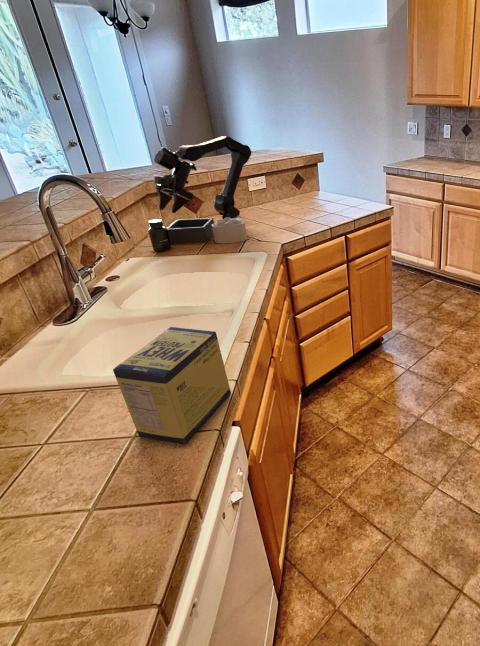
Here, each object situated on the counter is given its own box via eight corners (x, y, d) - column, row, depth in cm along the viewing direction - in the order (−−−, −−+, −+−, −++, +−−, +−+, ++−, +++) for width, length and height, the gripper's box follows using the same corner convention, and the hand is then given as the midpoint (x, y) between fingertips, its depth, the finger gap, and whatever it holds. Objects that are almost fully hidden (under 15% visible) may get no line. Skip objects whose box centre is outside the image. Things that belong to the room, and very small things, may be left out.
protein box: (232, 392, 92) (217, 330, 85) (186, 445, 78) (163, 376, 71) (189, 386, 94) (170, 325, 87) (137, 437, 80) (109, 369, 73)
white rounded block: (248, 240, 183) (244, 220, 179) (216, 245, 179) (211, 224, 175) (245, 233, 192) (241, 214, 188) (214, 238, 187) (209, 218, 183)
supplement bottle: (167, 252, 172) (158, 223, 166) (150, 252, 172) (141, 223, 166) (175, 246, 178) (167, 218, 172) (159, 246, 178) (151, 218, 172)
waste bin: (216, 232, 195) (213, 217, 192) (207, 242, 182) (204, 227, 179) (180, 233, 193) (176, 219, 190) (169, 244, 181) (165, 229, 178)
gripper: (149, 164, 172) (135, 200, 172) (174, 167, 163) (159, 206, 162) (174, 176, 182) (162, 211, 181) (199, 181, 172) (186, 217, 171)
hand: (166, 211), depth 174 cm, fingers open, 9 cm apart
